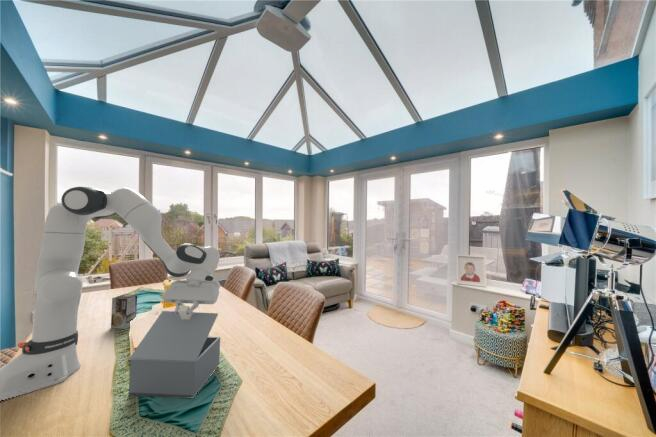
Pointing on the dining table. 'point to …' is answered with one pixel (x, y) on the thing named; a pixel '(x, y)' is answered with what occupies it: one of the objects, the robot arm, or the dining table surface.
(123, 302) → the coffee box
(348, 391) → the dining table surface
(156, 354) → the grey box lid
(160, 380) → the carton
